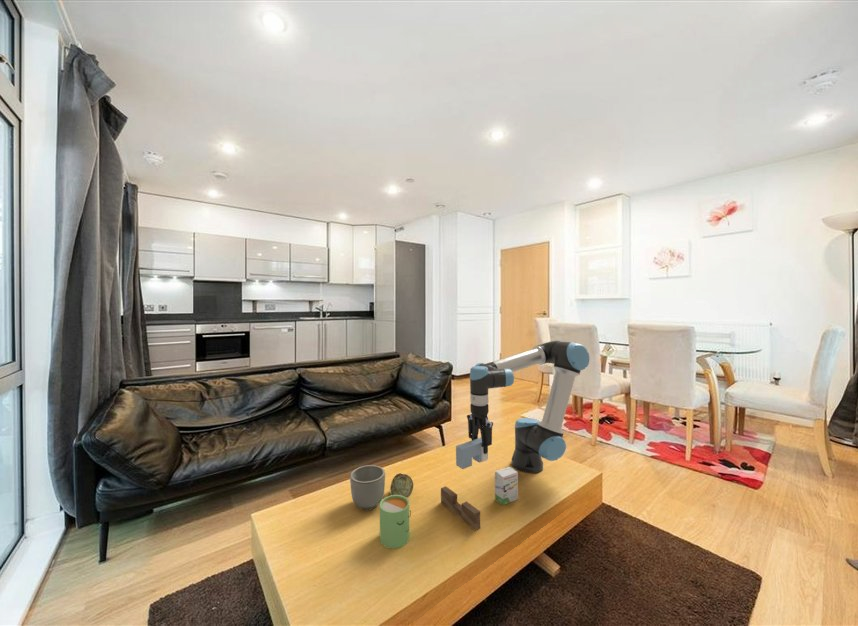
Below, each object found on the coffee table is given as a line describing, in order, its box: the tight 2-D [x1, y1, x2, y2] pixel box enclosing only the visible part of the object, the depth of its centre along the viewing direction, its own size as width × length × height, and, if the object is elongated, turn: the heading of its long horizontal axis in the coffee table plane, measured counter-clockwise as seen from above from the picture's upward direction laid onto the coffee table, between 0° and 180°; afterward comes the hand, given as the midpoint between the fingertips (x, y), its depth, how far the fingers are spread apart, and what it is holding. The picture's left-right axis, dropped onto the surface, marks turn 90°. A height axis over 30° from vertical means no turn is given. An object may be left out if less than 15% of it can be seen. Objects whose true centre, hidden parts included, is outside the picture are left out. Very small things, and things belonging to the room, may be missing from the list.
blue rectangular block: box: [455, 436, 489, 470], centre depth 135 cm, size 14×4×8 cm, turn 125°
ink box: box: [494, 466, 519, 506], centre depth 134 cm, size 8×5×12 cm, turn 118°
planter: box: [349, 464, 386, 511], centre depth 131 cm, size 14×14×13 cm
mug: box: [379, 494, 412, 549], centre depth 113 cm, size 13×10×12 cm
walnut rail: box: [440, 485, 481, 531], centre depth 124 cm, size 2×20×6 cm, turn 35°
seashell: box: [389, 472, 414, 499], centre depth 136 cm, size 11×11×10 cm
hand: (480, 458), depth 137 cm, fingers closed on blue rectangular block, 4 cm apart
